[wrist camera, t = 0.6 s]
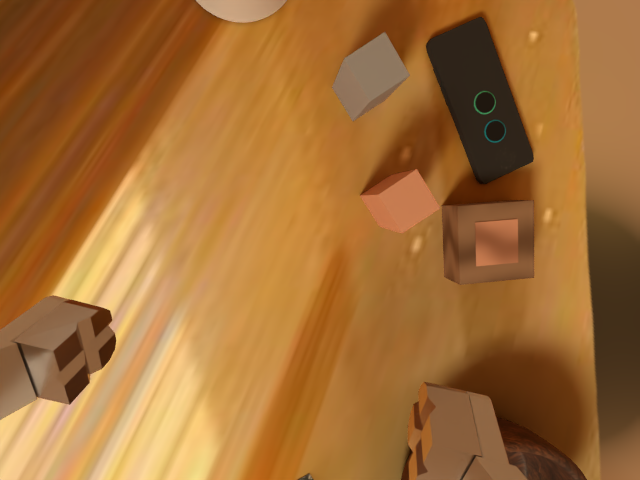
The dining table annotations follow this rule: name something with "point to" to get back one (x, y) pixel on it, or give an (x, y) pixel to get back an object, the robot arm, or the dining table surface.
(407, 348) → the dining table surface
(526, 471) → the wooden bowl
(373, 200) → the terracotta block
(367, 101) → the grey block
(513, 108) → the smart home device
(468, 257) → the walnut base block
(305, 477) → the eiffel tower figurine
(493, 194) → the dining table surface
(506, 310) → the dining table surface
